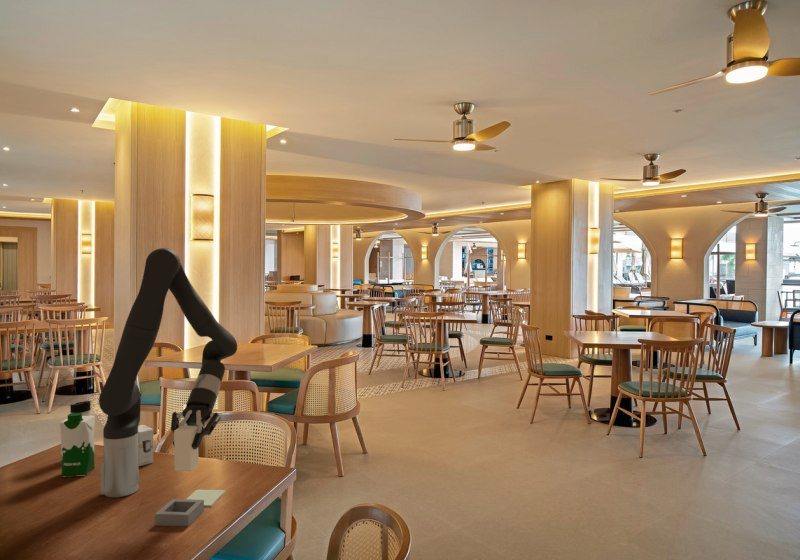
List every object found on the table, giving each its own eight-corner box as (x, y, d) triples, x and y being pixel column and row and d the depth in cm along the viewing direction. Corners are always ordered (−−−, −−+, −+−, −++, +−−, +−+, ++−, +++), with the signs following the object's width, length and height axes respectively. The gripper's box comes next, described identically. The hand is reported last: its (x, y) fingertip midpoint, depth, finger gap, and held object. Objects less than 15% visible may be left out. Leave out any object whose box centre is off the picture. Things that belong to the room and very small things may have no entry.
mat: (180, 505, 148) (180, 504, 148) (196, 490, 158) (196, 489, 158) (211, 506, 147) (211, 505, 147) (225, 491, 157) (225, 490, 157)
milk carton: (57, 479, 167) (56, 416, 167) (71, 468, 176) (70, 409, 176) (86, 477, 168) (85, 415, 168) (98, 467, 177) (98, 408, 177)
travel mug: (82, 460, 183) (81, 404, 183) (66, 459, 185) (65, 403, 184) (96, 454, 189) (95, 399, 189) (80, 453, 191) (80, 398, 190)
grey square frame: (155, 525, 137) (155, 513, 137) (172, 509, 146) (172, 498, 146) (188, 526, 136) (188, 515, 136) (203, 510, 145) (203, 499, 145)
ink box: (128, 461, 183) (127, 427, 183) (143, 457, 187) (142, 424, 187) (139, 467, 177) (138, 432, 177) (154, 462, 181) (153, 428, 181)
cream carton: (174, 470, 142) (174, 430, 142) (183, 464, 146) (182, 425, 146) (190, 471, 141) (189, 430, 141) (198, 465, 146) (197, 425, 146)
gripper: (176, 386, 153) (154, 441, 141) (223, 386, 151) (205, 442, 139) (186, 399, 158) (165, 453, 146) (231, 400, 157) (214, 454, 145)
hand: (185, 447), depth 143 cm, fingers closed on cream carton, 4 cm apart
